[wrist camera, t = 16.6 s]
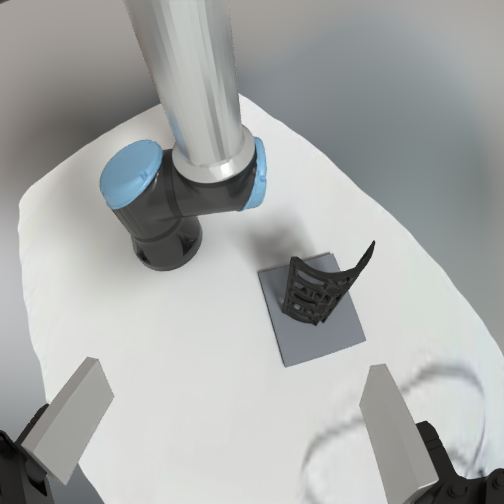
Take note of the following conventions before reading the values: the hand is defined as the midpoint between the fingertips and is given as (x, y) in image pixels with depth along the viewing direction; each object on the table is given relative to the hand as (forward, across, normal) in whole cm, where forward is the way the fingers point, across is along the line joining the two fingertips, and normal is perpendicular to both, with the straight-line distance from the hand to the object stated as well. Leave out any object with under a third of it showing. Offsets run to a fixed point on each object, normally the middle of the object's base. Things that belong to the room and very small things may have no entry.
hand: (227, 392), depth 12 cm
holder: (+35, +10, -14) cm, 39 cm away
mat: (+35, +10, -15) cm, 40 cm away
